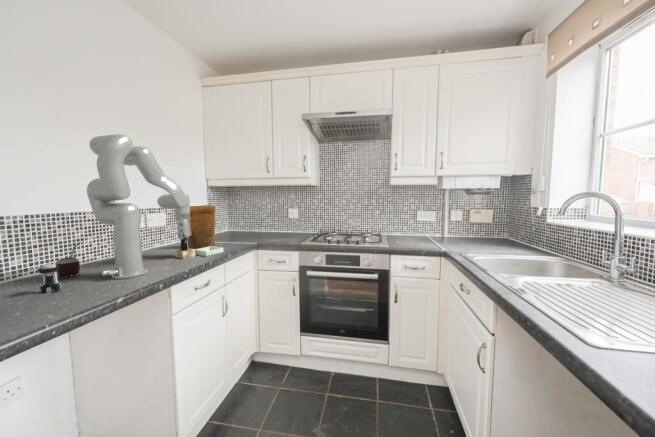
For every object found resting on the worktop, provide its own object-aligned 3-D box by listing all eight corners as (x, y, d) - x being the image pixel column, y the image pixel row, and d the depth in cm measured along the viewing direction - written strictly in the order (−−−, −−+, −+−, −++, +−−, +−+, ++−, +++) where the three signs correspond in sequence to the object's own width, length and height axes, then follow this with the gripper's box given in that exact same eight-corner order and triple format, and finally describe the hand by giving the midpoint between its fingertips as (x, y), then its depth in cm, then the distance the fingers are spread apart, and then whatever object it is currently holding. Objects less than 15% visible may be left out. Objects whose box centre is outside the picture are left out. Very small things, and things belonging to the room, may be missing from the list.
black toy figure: (31, 295, 89) (28, 268, 89) (42, 290, 94) (38, 264, 93) (56, 292, 92) (53, 265, 91) (65, 287, 97) (62, 262, 96)
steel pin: (184, 257, 141) (183, 241, 140) (181, 257, 143) (180, 240, 142) (190, 256, 144) (189, 240, 143) (186, 256, 146) (185, 239, 145)
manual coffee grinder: (57, 277, 111) (53, 243, 109) (82, 272, 117) (78, 240, 115) (58, 280, 106) (54, 245, 105) (84, 275, 112) (80, 242, 111)
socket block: (183, 258, 139) (183, 251, 138) (176, 257, 142) (175, 250, 142) (195, 256, 145) (195, 249, 144) (188, 254, 148) (187, 248, 148)
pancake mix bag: (217, 247, 168) (214, 205, 165) (184, 250, 161) (181, 206, 159) (218, 245, 174) (215, 205, 171) (187, 248, 168) (184, 206, 165)
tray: (206, 256, 143) (206, 251, 143) (193, 254, 148) (193, 249, 148) (223, 252, 153) (223, 247, 153) (211, 250, 159) (210, 246, 158)
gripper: (186, 217, 135) (189, 251, 136) (193, 215, 150) (195, 246, 152) (170, 218, 132) (173, 253, 134) (179, 216, 148) (181, 247, 150)
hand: (185, 249), depth 143 cm, fingers closed on steel pin, 3 cm apart
